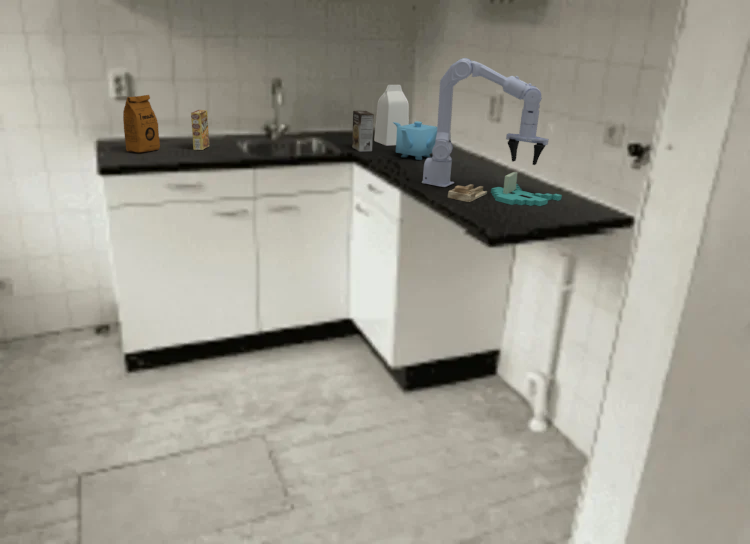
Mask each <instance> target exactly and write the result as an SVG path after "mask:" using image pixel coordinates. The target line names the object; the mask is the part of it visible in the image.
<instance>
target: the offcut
mask: <svg viewBox="0 0 750 544" xmlns="http://www.w3.org/2000/svg"><path fill="white" fill-rule="evenodd" d="M469 188H470V187H465V186H464V185H456V186H454V189H455V191H454V192H460V193H468V192H469Z"/></svg>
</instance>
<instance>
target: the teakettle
mask: <svg viewBox="0 0 750 544" xmlns="http://www.w3.org/2000/svg"><path fill="white" fill-rule="evenodd" d="M393 123H394V124H395V125H396V126H397V137H396V145H395V154H397V153H398V154H401V156H400V157H401V158H408V157H409V156H412V157H415V160H416V161H422V160H423V157H424V158H432V156H431V154H432V149H433V147H434V146H435V141H436V135H437V126H435V125H430V124H423V122H422V121H414V122H413V123H409V124H408V125H404V126H401V125H400V124H399V123H396V122H393Z"/></svg>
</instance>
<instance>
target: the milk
mask: <svg viewBox="0 0 750 544" xmlns="http://www.w3.org/2000/svg"><path fill="white" fill-rule="evenodd" d="M407 98H408V97H406V95H405V92H403V88H402V85H401V84H387V86H386V89H385V91H384V92H383V93H382V95H380V97H379V98H378V101H377V104H376V105H377V106H376V114H375V115H376V117H375V127H374V128H375V129H374V136H373V142H376V143H379V144H382V145H383V146H396V137H397V126H396V125H395V124H394V123H393V122H396V123H399V124H400V125H401V126H404V125H408V124H410V121H409V119H410V118H409V117H410V104H409V103H410V102H409V101H408V99H407Z"/></svg>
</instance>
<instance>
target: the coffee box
mask: <svg viewBox="0 0 750 544" xmlns="http://www.w3.org/2000/svg"><path fill="white" fill-rule="evenodd" d="M374 117H375V114H374V113H372V112H369V111H367V110H353V111H352V140H351V141H352V142H351V147H352V149H355V150H356V151H358V152H372V151H373V142H374V120H375V119H374Z"/></svg>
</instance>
